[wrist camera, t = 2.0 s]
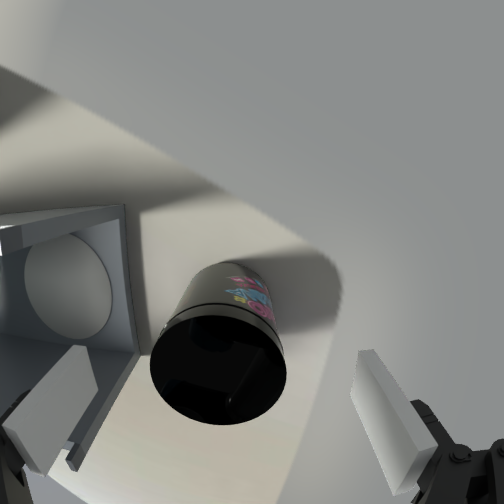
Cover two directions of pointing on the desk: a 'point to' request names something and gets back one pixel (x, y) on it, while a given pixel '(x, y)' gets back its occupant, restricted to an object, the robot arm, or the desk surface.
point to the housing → (66, 306)
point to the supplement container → (221, 349)
